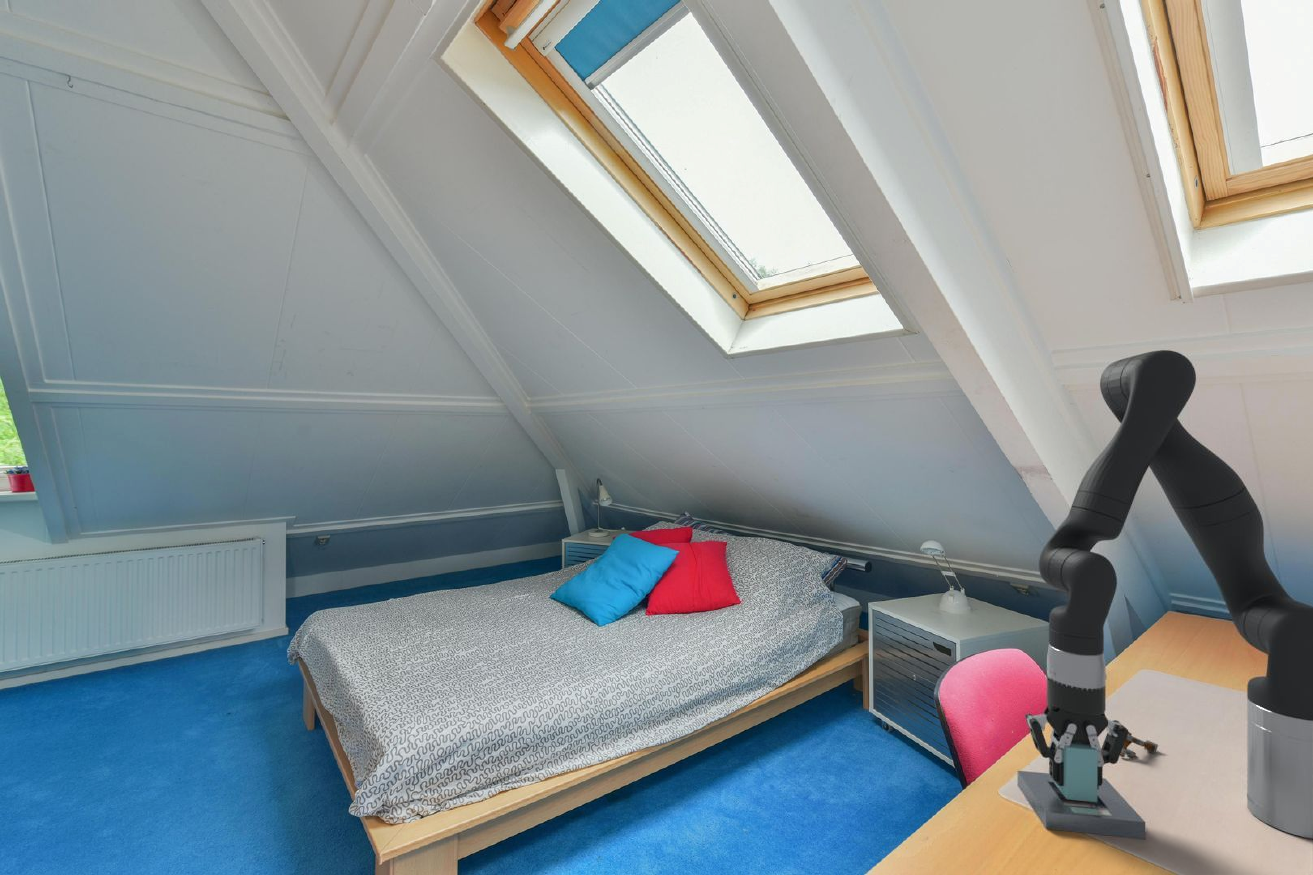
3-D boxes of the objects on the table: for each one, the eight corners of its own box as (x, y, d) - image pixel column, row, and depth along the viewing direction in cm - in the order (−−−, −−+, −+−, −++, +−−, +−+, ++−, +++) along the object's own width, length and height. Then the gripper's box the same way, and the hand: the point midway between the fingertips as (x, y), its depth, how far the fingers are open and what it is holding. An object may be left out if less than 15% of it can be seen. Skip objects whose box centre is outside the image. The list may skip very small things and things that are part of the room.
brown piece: (1112, 752, 109) (1119, 727, 109) (1141, 762, 111) (1147, 738, 112) (1122, 757, 107) (1129, 732, 108) (1151, 767, 109) (1158, 743, 110)
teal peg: (1083, 785, 96) (1083, 736, 96) (1097, 802, 92) (1097, 750, 92) (1054, 782, 97) (1054, 733, 97) (1066, 798, 93) (1066, 747, 93)
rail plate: (1105, 793, 98) (1105, 777, 98) (1145, 838, 87) (1145, 821, 87) (1017, 785, 101) (1017, 769, 101) (1045, 828, 90) (1045, 811, 90)
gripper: (1114, 669, 96) (1114, 775, 96) (1016, 663, 99) (1016, 766, 99) (1142, 690, 89) (1141, 804, 89) (1034, 682, 92) (1034, 793, 92)
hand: (1075, 784), depth 94 cm, fingers closed on teal peg, 4 cm apart
